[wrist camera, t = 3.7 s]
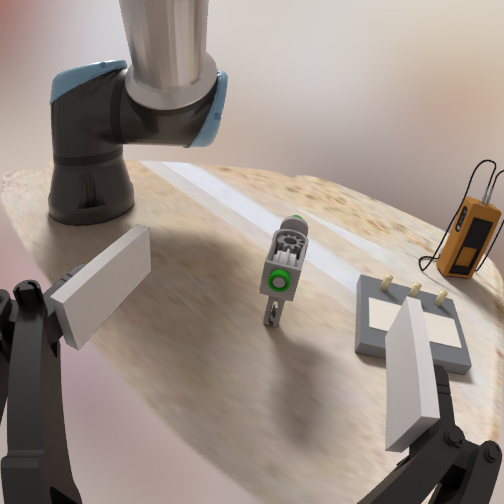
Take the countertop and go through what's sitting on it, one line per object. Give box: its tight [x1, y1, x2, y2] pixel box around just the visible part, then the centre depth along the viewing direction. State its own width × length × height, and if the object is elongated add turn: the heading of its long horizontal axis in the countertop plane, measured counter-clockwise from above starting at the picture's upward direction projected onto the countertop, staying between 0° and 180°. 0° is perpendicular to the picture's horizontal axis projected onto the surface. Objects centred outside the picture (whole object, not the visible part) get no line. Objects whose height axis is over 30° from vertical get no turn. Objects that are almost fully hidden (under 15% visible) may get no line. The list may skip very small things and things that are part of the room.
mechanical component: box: [260, 215, 309, 328], centre depth 29 cm, size 3×10×10 cm, turn 166°
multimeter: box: [419, 160, 504, 279], centre depth 43 cm, size 15×10×20 cm
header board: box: [355, 274, 472, 375], centre depth 32 cm, size 14×12×4 cm
